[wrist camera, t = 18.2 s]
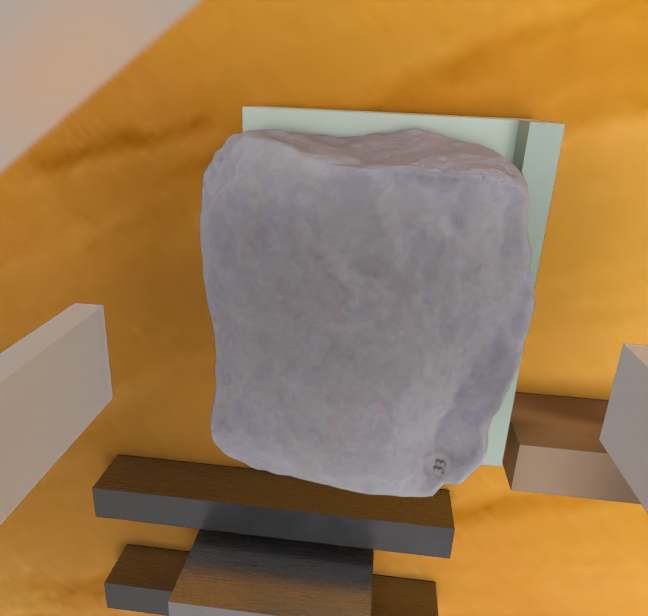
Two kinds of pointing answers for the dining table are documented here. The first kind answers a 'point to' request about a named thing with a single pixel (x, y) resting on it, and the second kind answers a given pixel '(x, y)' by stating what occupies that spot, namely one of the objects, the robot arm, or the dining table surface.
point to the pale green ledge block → (491, 132)
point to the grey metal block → (272, 578)
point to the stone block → (363, 304)
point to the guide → (264, 525)
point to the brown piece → (561, 449)
